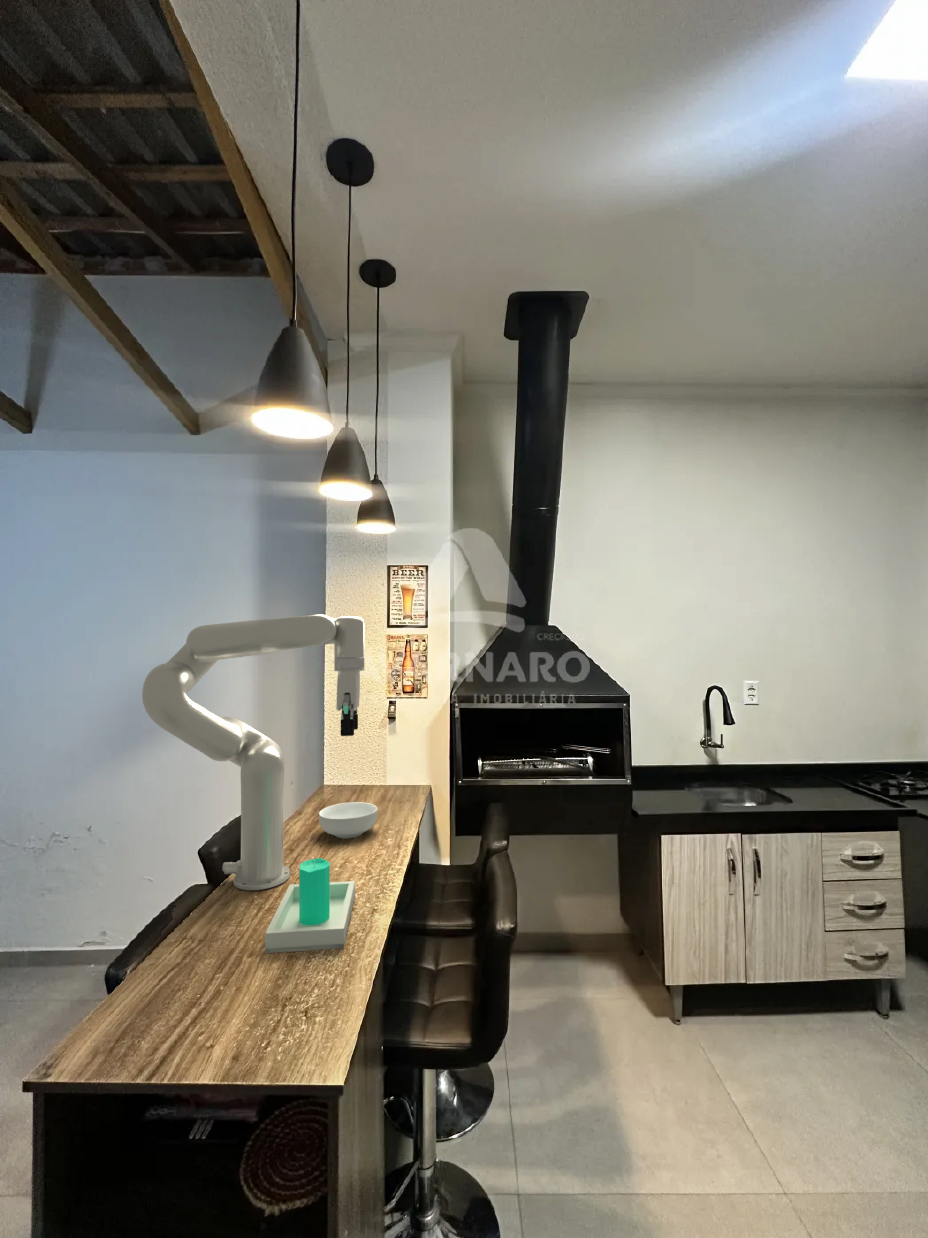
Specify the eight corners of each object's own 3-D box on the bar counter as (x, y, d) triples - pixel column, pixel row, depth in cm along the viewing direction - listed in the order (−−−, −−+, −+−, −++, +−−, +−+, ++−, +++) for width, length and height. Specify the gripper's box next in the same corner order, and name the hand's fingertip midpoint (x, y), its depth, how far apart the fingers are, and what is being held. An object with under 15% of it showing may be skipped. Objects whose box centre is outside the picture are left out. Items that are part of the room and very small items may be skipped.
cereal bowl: (373, 821, 169) (372, 799, 169) (382, 839, 153) (382, 814, 154) (317, 828, 164) (317, 804, 164) (320, 847, 148) (320, 821, 148)
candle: (305, 910, 111) (305, 851, 112) (333, 910, 111) (333, 851, 111) (294, 925, 105) (294, 862, 106) (324, 925, 105) (324, 863, 105)
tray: (265, 953, 97) (265, 933, 97) (289, 901, 117) (289, 884, 117) (343, 948, 98) (343, 928, 98) (355, 897, 118) (355, 881, 118)
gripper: (339, 664, 145) (339, 727, 145) (329, 666, 128) (329, 739, 127) (367, 663, 146) (367, 727, 145) (361, 666, 129) (361, 738, 128)
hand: (349, 732), depth 136 cm, fingers open, 9 cm apart
